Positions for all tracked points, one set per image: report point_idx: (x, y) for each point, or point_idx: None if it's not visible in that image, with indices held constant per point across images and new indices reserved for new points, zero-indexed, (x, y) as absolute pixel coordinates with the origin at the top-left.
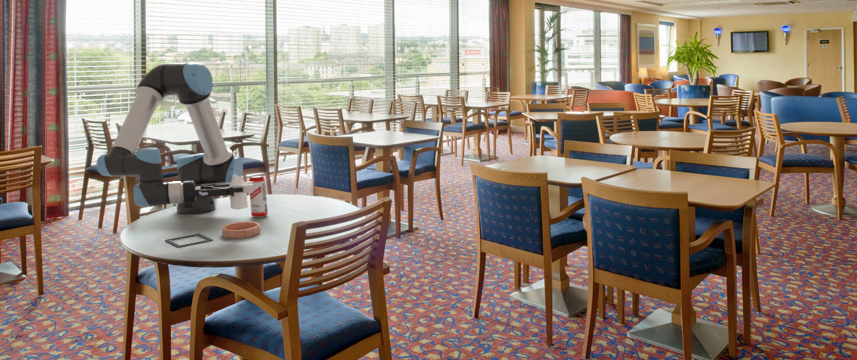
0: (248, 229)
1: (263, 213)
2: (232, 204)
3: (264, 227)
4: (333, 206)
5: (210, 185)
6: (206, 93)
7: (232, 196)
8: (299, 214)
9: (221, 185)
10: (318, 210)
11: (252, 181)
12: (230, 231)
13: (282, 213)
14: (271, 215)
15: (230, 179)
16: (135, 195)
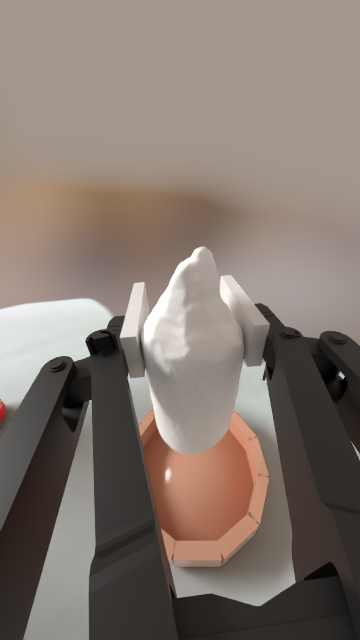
0: (246, 424)
1: (3, 407)
2: (224, 426)
3: (137, 404)
4: (43, 310)
5: (179, 627)
6: None
7: (233, 391)
8: (56, 346)
9: (134, 427)
10: (52, 323)
11: (136, 283)
12: (263, 500)
13: (9, 374)
14: (4, 396)
15: None
16: None
